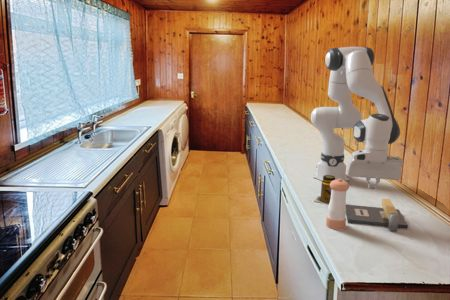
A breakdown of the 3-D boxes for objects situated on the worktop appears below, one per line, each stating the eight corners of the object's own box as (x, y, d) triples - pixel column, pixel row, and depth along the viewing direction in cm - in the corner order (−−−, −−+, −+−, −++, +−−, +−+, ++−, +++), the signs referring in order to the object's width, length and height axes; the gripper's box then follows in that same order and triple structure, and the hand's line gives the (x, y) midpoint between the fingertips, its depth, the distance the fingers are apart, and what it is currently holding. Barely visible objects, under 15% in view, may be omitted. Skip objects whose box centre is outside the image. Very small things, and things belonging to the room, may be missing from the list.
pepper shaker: (330, 220, 151) (334, 174, 146) (348, 225, 146) (353, 178, 142) (322, 225, 145) (326, 179, 141) (340, 231, 141) (345, 183, 136)
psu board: (344, 207, 164) (344, 203, 163) (398, 212, 159) (398, 208, 159) (347, 222, 149) (348, 218, 148) (407, 228, 144) (408, 224, 144)
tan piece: (398, 231, 140) (400, 216, 139) (388, 230, 141) (390, 215, 140) (388, 212, 158) (390, 199, 156) (380, 211, 159) (382, 198, 157)
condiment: (332, 205, 166) (334, 179, 163) (313, 201, 170) (315, 176, 167) (336, 200, 172) (338, 175, 169) (318, 196, 176) (320, 172, 173)
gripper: (401, 155, 150) (397, 188, 153) (348, 151, 154) (345, 183, 157) (405, 159, 144) (401, 193, 147) (350, 155, 148) (346, 188, 151)
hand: (372, 188), depth 152 cm, fingers closed
